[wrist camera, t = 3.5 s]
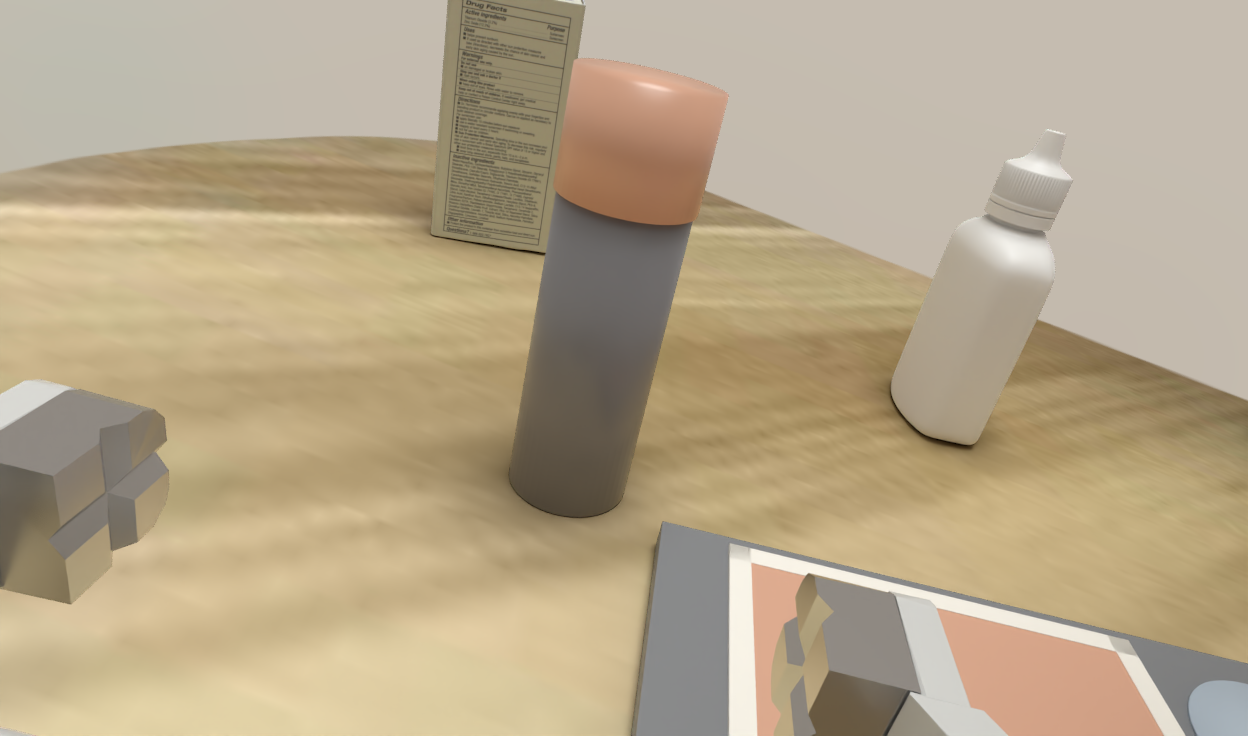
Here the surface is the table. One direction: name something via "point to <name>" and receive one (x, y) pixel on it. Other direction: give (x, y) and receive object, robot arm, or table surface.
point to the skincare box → (503, 118)
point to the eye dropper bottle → (983, 301)
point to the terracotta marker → (609, 276)
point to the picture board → (975, 629)
